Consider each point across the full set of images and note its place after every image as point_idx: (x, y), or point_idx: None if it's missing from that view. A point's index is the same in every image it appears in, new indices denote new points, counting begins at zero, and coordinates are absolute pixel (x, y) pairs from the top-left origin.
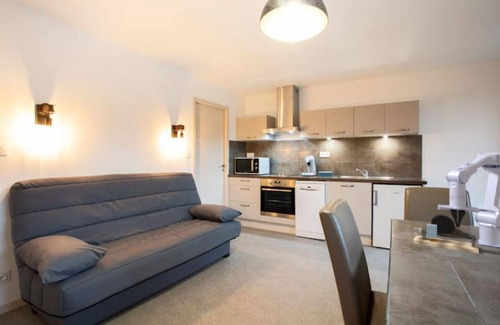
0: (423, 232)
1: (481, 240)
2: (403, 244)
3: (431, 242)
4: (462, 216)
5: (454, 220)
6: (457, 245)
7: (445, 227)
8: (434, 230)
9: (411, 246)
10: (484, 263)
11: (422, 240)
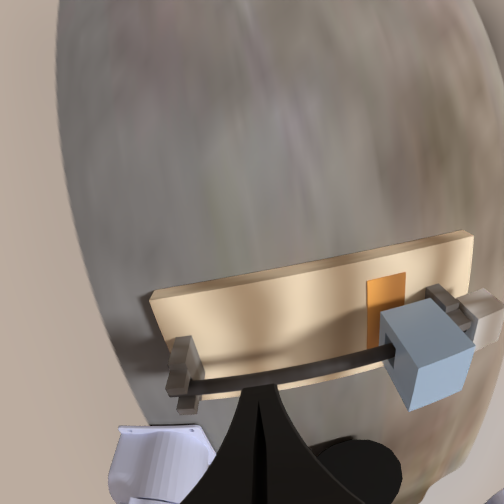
0: (457, 314)
1: (194, 447)
2: (491, 166)
3: (396, 263)
4: (196, 497)
5: (297, 433)
6: (261, 313)
7: (340, 475)
8: (416, 341)
9: (463, 154)
10: (95, 119)
11: (438, 267)
